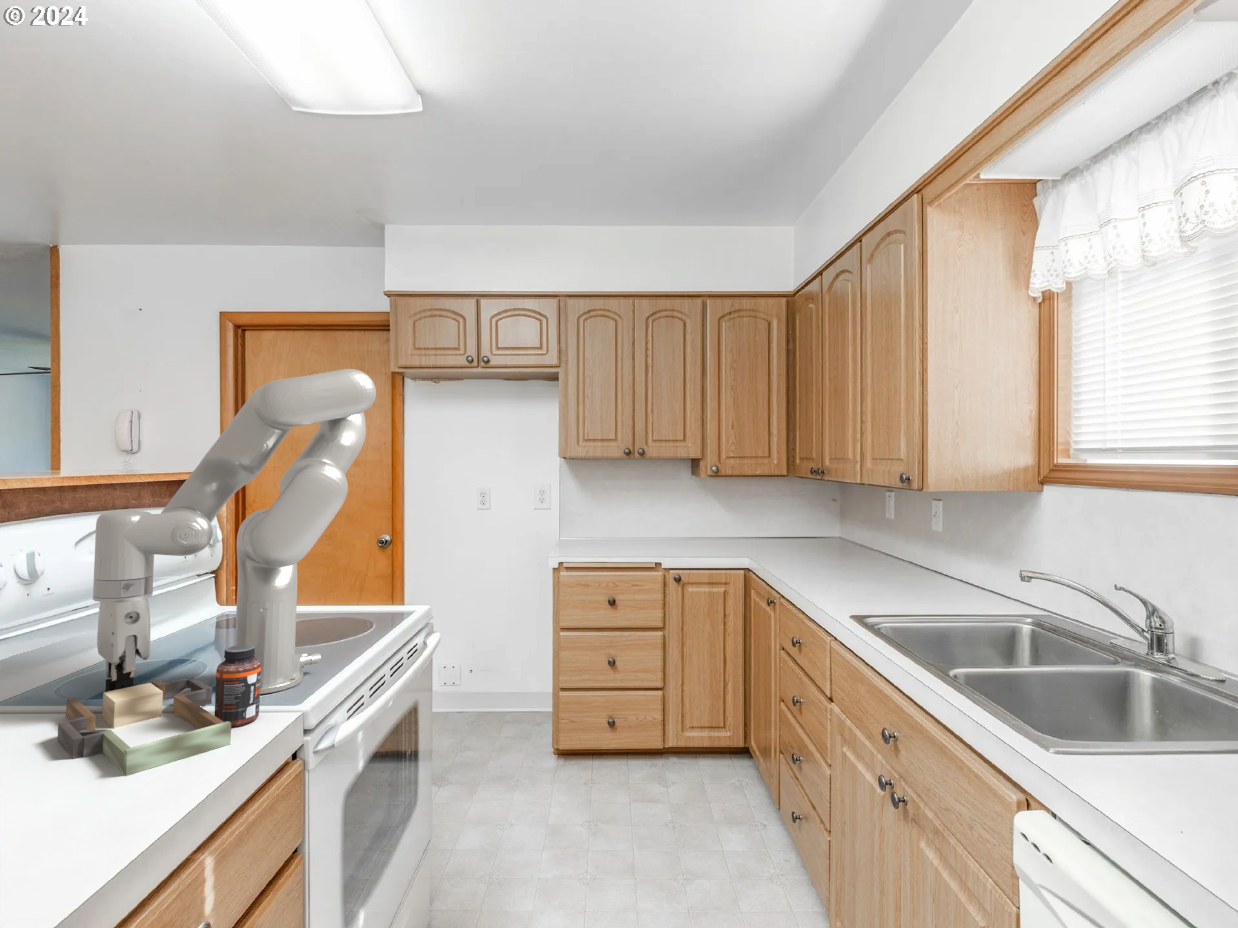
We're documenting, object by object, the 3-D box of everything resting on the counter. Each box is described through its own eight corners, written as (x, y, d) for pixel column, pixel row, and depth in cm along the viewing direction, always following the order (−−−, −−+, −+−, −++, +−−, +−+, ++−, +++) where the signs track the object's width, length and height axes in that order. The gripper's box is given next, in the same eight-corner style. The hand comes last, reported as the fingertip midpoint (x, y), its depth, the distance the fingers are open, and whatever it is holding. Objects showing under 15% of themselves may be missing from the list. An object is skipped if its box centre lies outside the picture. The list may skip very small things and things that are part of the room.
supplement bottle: (263, 721, 96) (266, 648, 96) (219, 732, 92) (222, 655, 92) (253, 710, 100) (256, 640, 101) (210, 719, 96) (212, 646, 96)
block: (149, 707, 101) (150, 682, 101) (161, 717, 97) (162, 691, 97) (102, 718, 96) (103, 692, 96) (113, 729, 92) (114, 702, 92)
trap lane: (187, 688, 109) (188, 671, 109) (262, 734, 92) (262, 714, 92) (39, 721, 94) (40, 701, 94) (95, 784, 76) (97, 759, 76)
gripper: (167, 591, 98) (162, 708, 98) (137, 579, 107) (133, 686, 107) (107, 598, 92) (102, 722, 92) (81, 584, 101) (76, 697, 101)
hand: (118, 702), depth 99 cm, fingers closed
